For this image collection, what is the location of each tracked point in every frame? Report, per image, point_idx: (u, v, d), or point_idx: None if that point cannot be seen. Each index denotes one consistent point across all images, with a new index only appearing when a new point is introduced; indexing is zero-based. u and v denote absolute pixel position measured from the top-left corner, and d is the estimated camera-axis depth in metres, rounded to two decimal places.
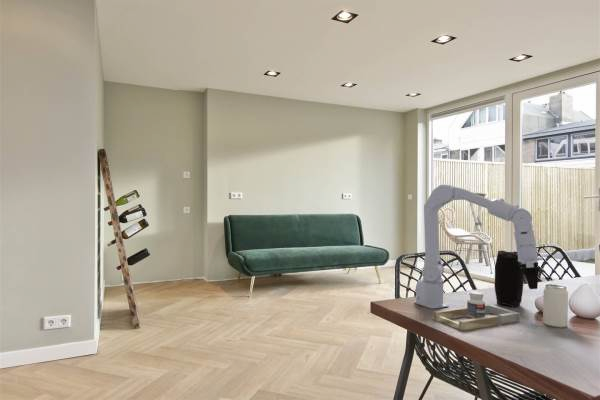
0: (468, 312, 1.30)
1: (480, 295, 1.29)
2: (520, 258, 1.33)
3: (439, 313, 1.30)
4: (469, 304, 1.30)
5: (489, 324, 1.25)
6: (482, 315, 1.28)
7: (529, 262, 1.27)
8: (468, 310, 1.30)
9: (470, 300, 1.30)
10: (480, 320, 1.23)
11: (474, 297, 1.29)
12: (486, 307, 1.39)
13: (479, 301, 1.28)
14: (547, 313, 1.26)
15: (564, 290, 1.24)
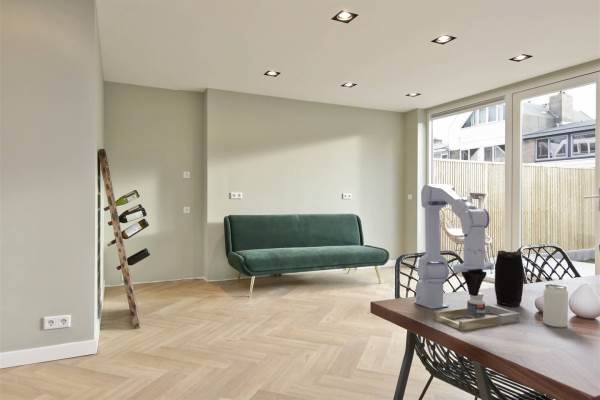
0: (468, 312, 1.30)
1: (480, 295, 1.29)
2: None
3: (439, 313, 1.30)
4: (469, 304, 1.30)
5: (489, 324, 1.25)
6: (482, 315, 1.28)
7: (455, 266, 1.18)
8: (468, 310, 1.30)
9: (470, 300, 1.30)
10: (480, 320, 1.23)
11: (474, 297, 1.29)
12: (486, 307, 1.39)
13: (479, 301, 1.28)
14: (547, 313, 1.26)
15: (564, 290, 1.24)
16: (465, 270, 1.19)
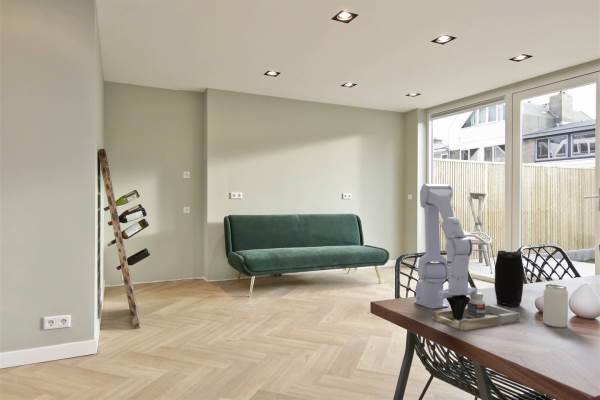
0: (468, 312, 1.30)
1: (480, 295, 1.29)
2: None
3: (439, 313, 1.30)
4: (469, 304, 1.30)
5: (489, 324, 1.25)
6: (482, 315, 1.28)
7: (440, 293, 1.24)
8: (468, 310, 1.30)
9: (470, 300, 1.30)
10: (480, 320, 1.23)
11: (474, 297, 1.29)
12: (486, 307, 1.39)
13: (479, 301, 1.28)
14: (547, 313, 1.26)
15: (564, 290, 1.24)
16: (449, 296, 1.25)
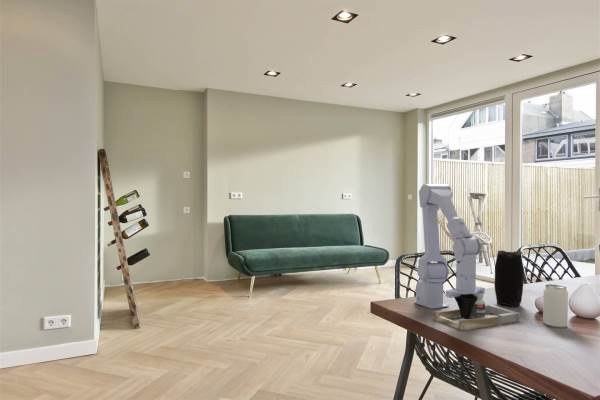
0: None
1: (480, 295, 1.29)
2: None
3: (439, 313, 1.30)
4: None
5: (489, 324, 1.25)
6: (482, 315, 1.28)
7: (448, 292, 1.25)
8: None
9: None
10: (480, 320, 1.23)
11: None
12: (486, 307, 1.39)
13: (479, 301, 1.28)
14: (547, 313, 1.26)
15: (564, 290, 1.24)
16: (457, 295, 1.27)
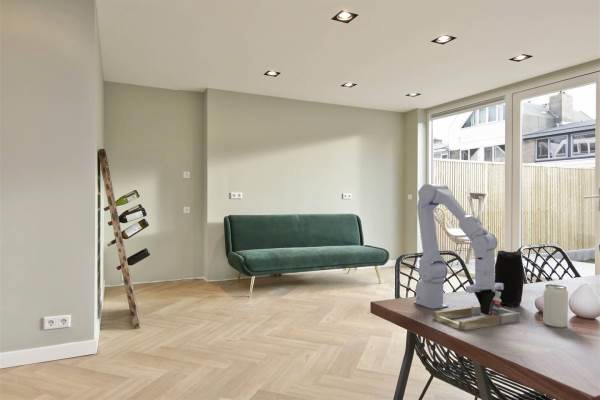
0: None
1: (499, 292, 1.31)
2: (475, 282, 1.32)
3: (439, 313, 1.30)
4: None
5: (489, 324, 1.25)
6: (497, 312, 1.30)
7: (468, 287, 1.28)
8: None
9: None
10: (480, 320, 1.23)
11: None
12: None
13: (497, 298, 1.31)
14: (547, 313, 1.26)
15: (564, 290, 1.24)
16: (477, 290, 1.29)
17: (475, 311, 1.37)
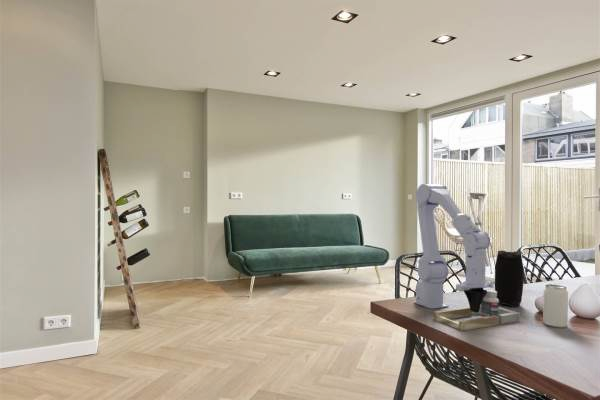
0: (482, 310, 1.32)
1: (494, 293, 1.31)
2: None
3: (439, 313, 1.30)
4: (483, 302, 1.32)
5: (489, 324, 1.25)
6: (496, 313, 1.30)
7: (458, 285, 1.27)
8: (482, 308, 1.32)
9: (484, 298, 1.32)
10: (480, 320, 1.23)
11: (488, 296, 1.31)
12: None
13: (494, 299, 1.31)
14: (547, 313, 1.26)
15: (564, 290, 1.24)
16: (467, 288, 1.28)
17: None
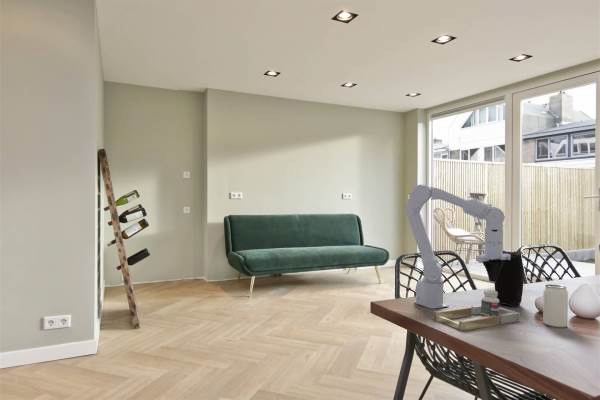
0: (482, 310, 1.32)
1: (495, 293, 1.31)
2: (484, 253, 1.42)
3: (439, 313, 1.30)
4: (483, 302, 1.32)
5: (489, 324, 1.25)
6: (496, 313, 1.30)
7: (478, 257, 1.37)
8: (482, 308, 1.32)
9: (485, 298, 1.32)
10: (480, 320, 1.23)
11: (488, 296, 1.31)
12: None
13: (494, 299, 1.31)
14: (547, 313, 1.26)
15: (564, 290, 1.24)
16: (486, 260, 1.39)
17: (475, 311, 1.37)
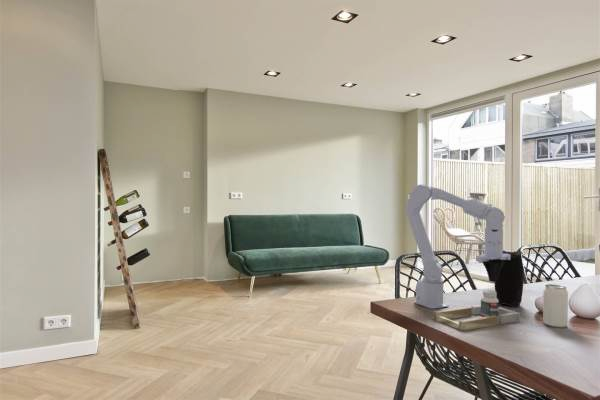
0: (482, 310, 1.32)
1: (493, 293, 1.31)
2: (484, 253, 1.42)
3: (439, 313, 1.30)
4: (483, 303, 1.32)
5: (489, 324, 1.25)
6: (496, 313, 1.30)
7: (478, 257, 1.37)
8: (482, 308, 1.32)
9: (484, 299, 1.32)
10: (480, 320, 1.23)
11: (487, 296, 1.31)
12: None
13: (493, 299, 1.30)
14: (547, 313, 1.26)
15: (564, 290, 1.24)
16: (486, 260, 1.39)
17: (475, 311, 1.37)
